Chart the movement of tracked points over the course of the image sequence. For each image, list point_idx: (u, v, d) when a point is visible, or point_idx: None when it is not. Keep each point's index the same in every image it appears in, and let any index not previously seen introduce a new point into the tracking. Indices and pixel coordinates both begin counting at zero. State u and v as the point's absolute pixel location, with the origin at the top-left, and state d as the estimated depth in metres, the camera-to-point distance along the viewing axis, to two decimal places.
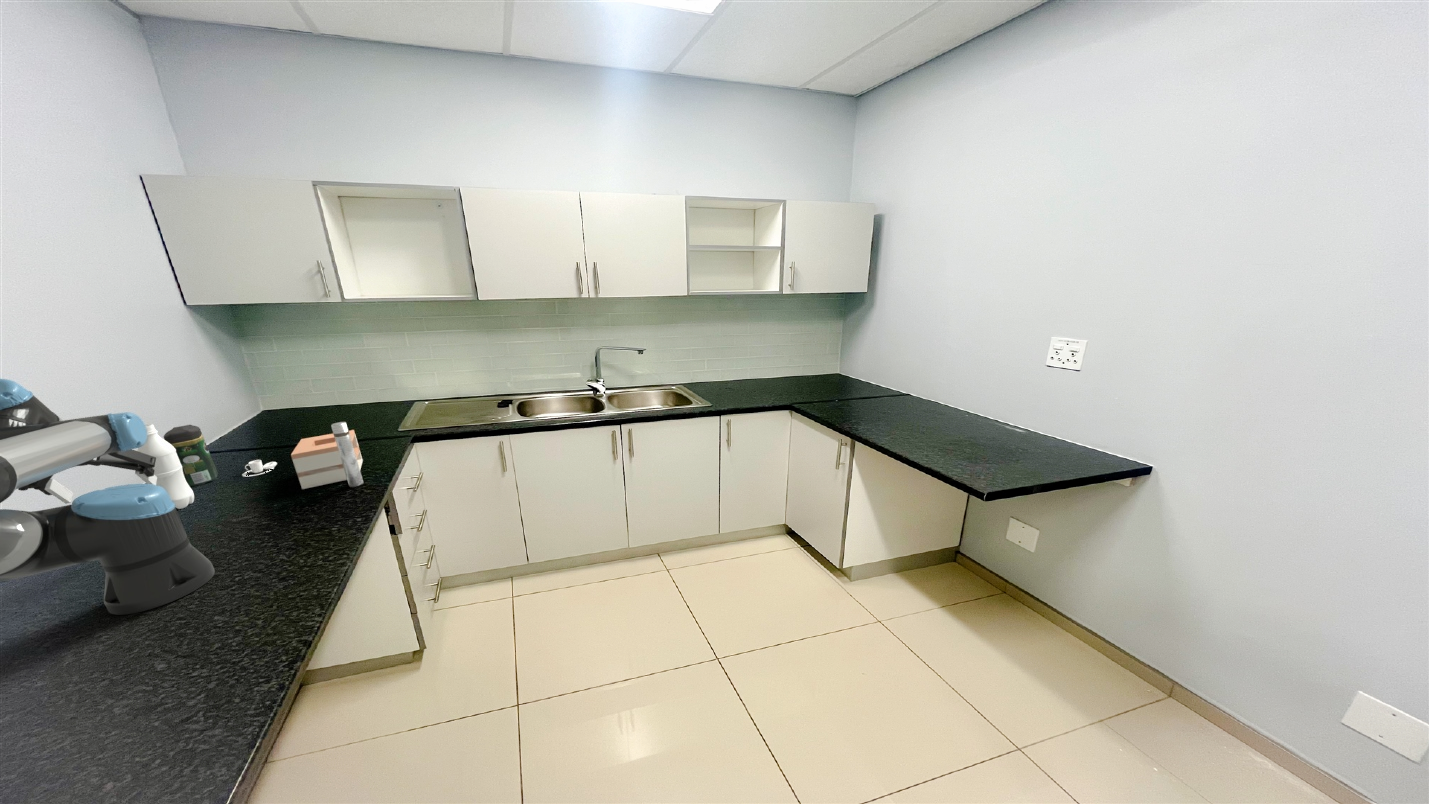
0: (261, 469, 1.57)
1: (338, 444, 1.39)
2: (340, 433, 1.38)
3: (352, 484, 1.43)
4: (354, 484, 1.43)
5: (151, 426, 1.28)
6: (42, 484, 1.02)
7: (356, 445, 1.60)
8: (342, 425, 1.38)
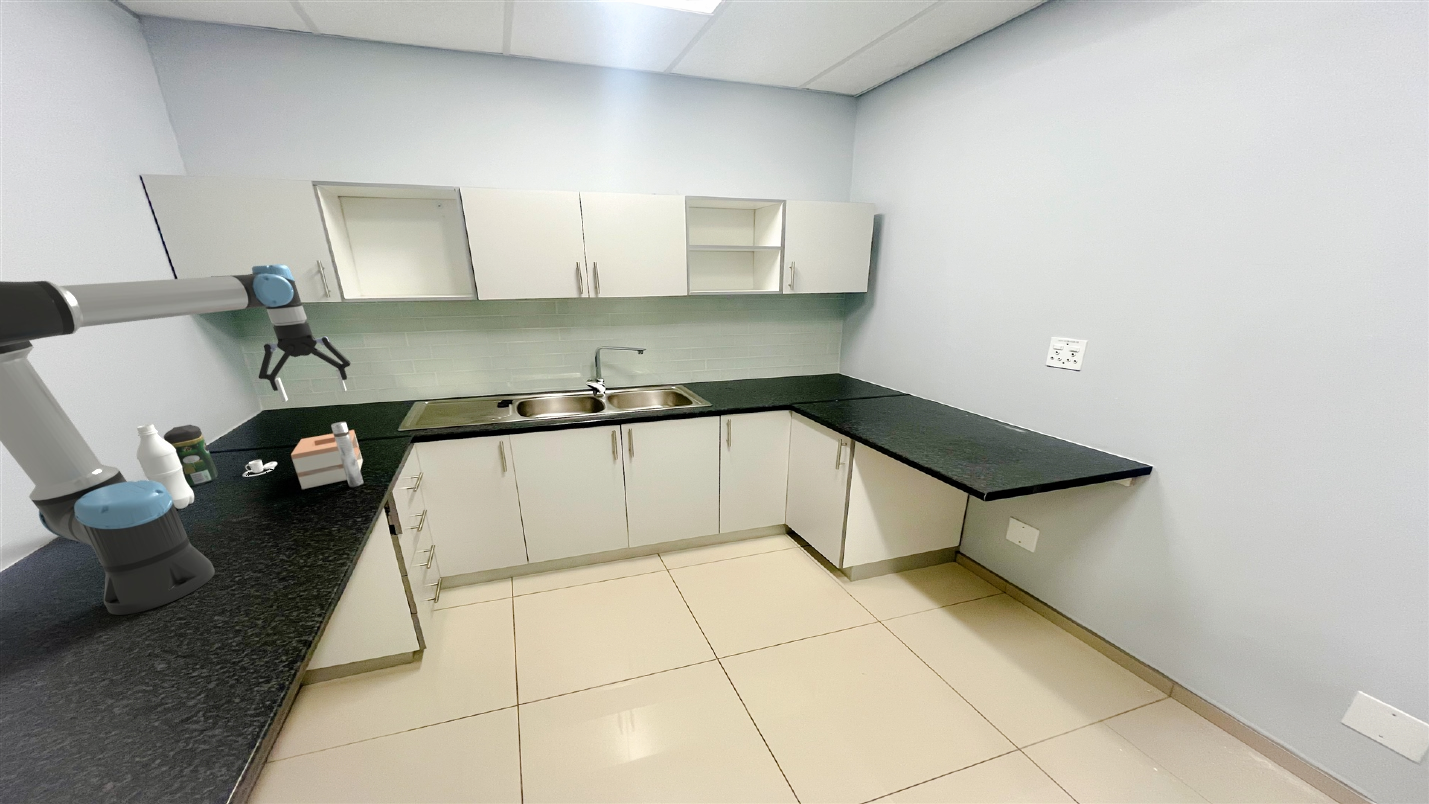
0: (261, 469, 1.57)
1: (338, 444, 1.39)
2: (340, 433, 1.38)
3: (352, 484, 1.43)
4: (354, 484, 1.43)
5: (151, 426, 1.28)
6: (274, 373, 1.28)
7: (356, 445, 1.60)
8: (342, 425, 1.38)
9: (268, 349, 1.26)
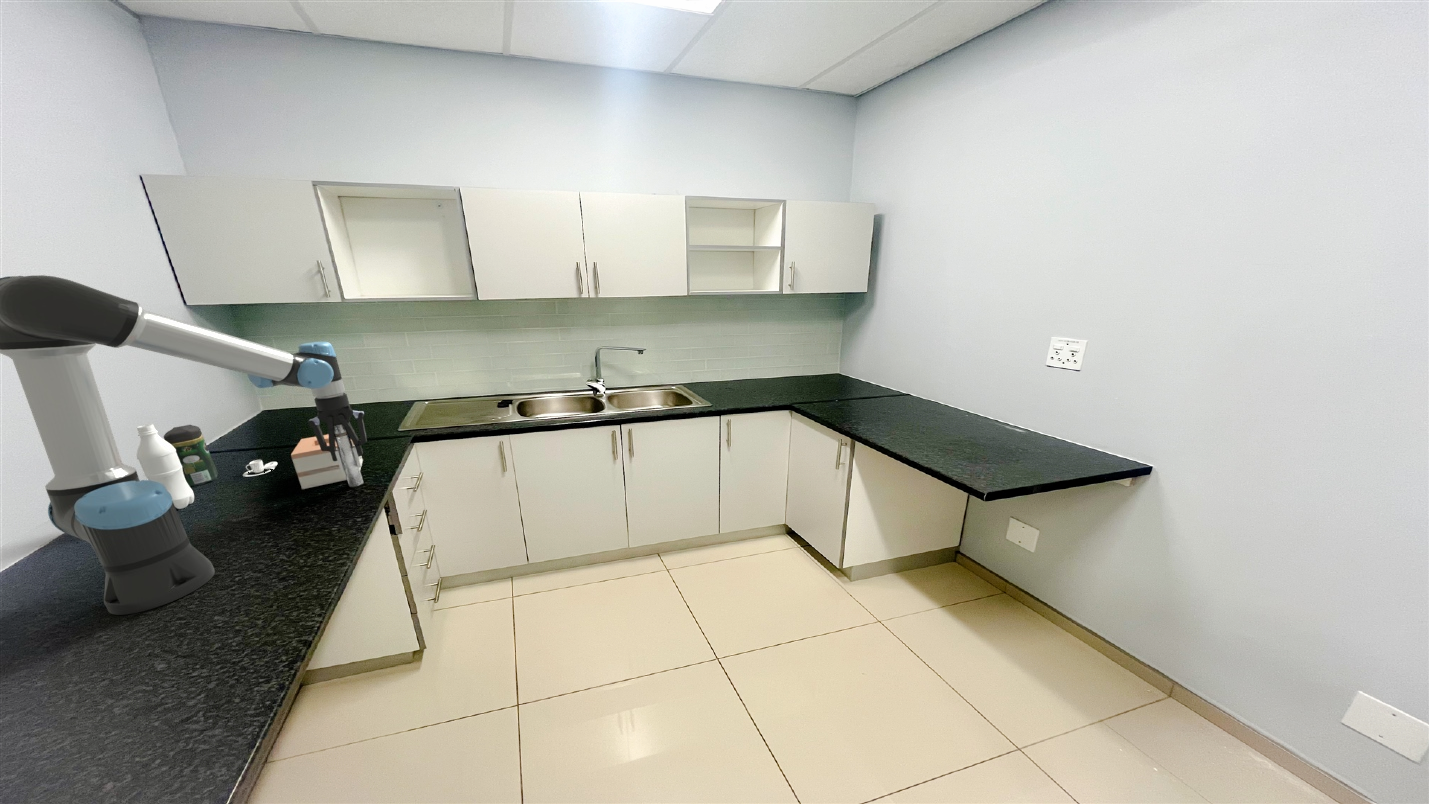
0: (262, 469, 1.57)
1: (338, 444, 1.39)
2: (340, 433, 1.38)
3: (352, 484, 1.43)
4: (354, 484, 1.43)
5: (151, 426, 1.28)
6: (332, 445, 1.38)
7: None
8: (342, 425, 1.38)
9: (313, 424, 1.35)
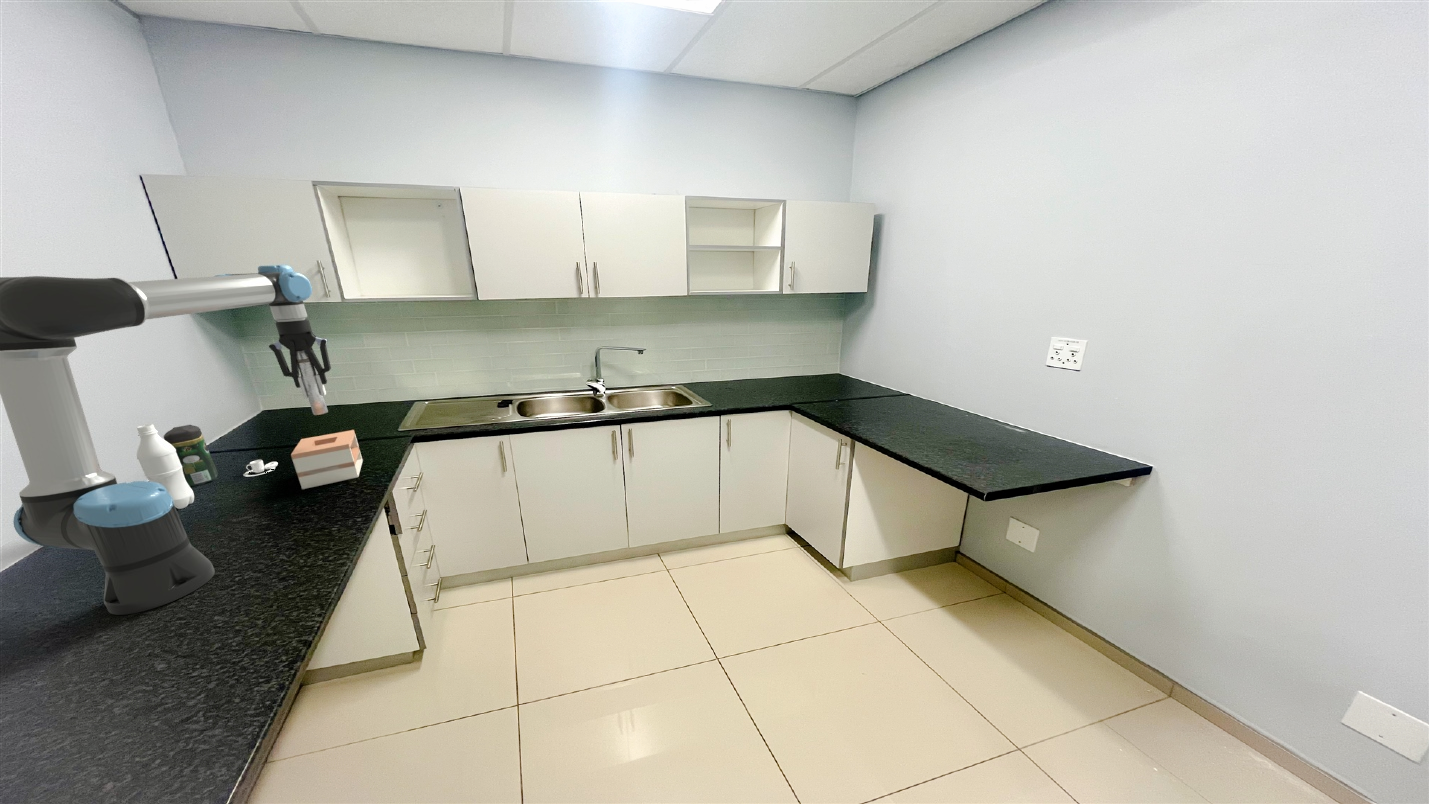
0: (262, 469, 1.57)
1: (301, 370, 1.39)
2: (302, 359, 1.39)
3: (316, 412, 1.43)
4: (318, 412, 1.44)
5: (151, 426, 1.28)
6: (294, 371, 1.39)
7: (356, 445, 1.60)
8: (304, 351, 1.39)
9: (274, 348, 1.35)
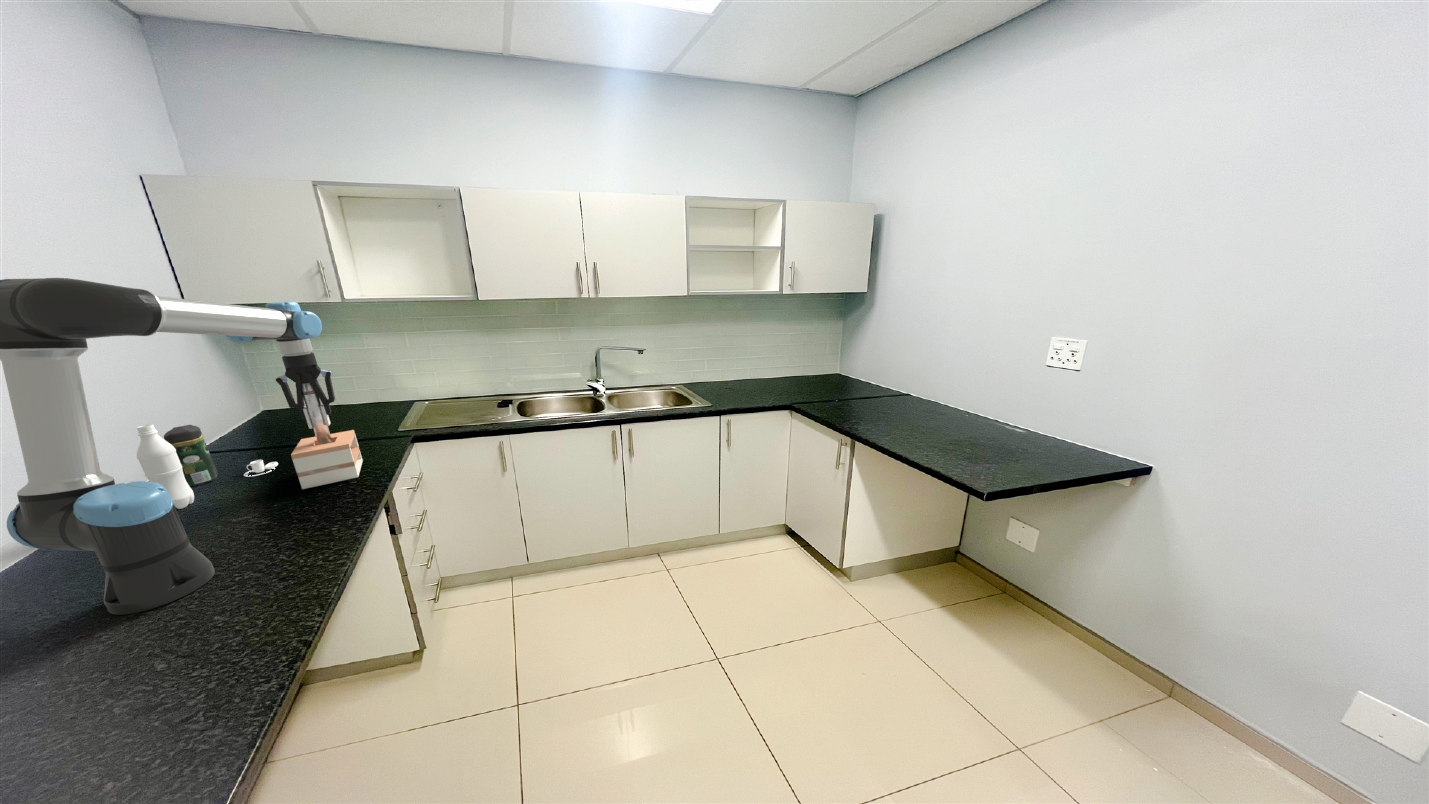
0: (263, 469, 1.57)
1: (306, 402, 1.44)
2: (307, 391, 1.43)
3: (321, 442, 1.48)
4: (323, 442, 1.48)
5: (151, 426, 1.28)
6: (300, 402, 1.43)
7: (356, 445, 1.60)
8: (310, 383, 1.43)
9: (281, 382, 1.40)
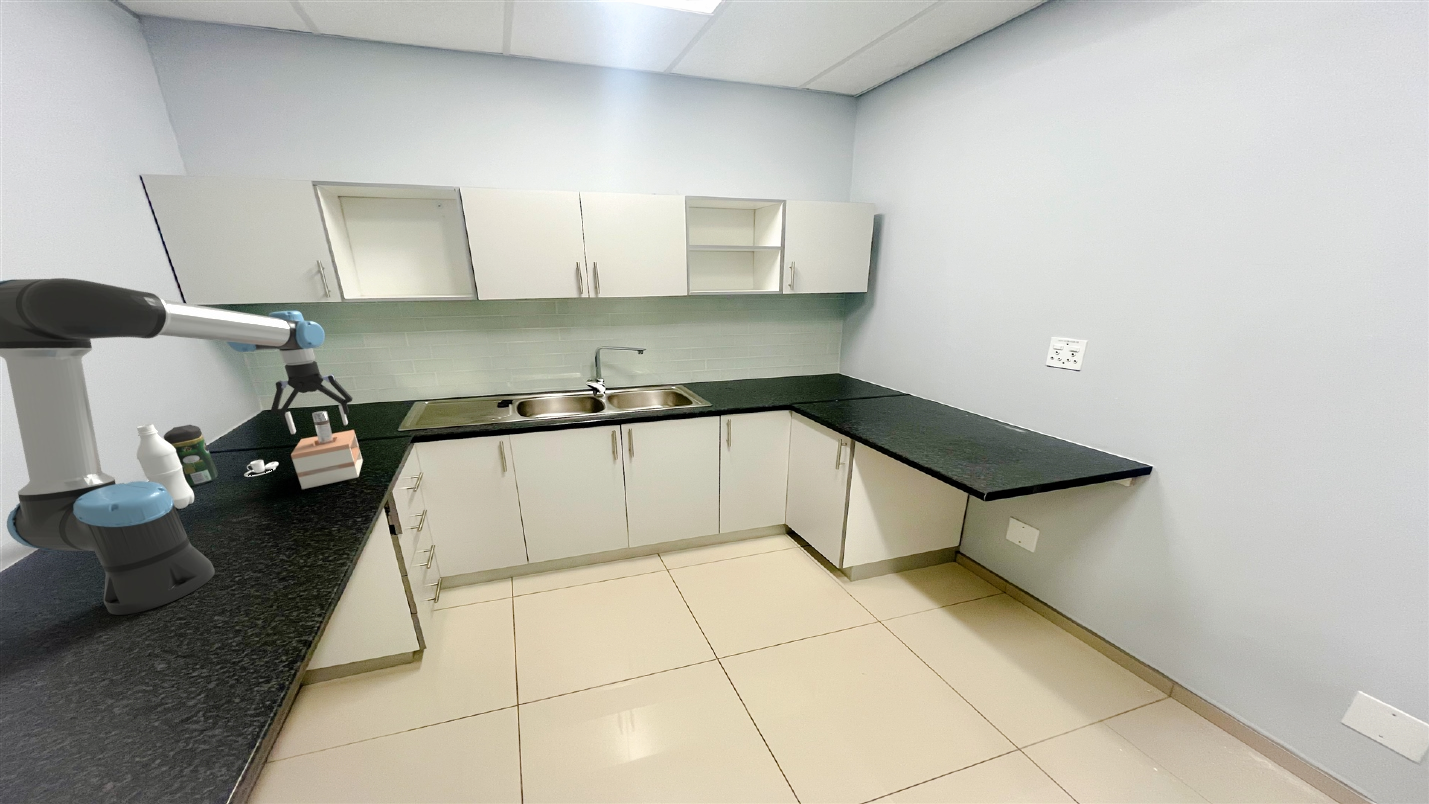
0: (263, 469, 1.57)
1: (318, 432, 1.47)
2: (320, 421, 1.46)
3: None
4: None
5: (151, 426, 1.28)
6: (285, 408, 1.41)
7: (356, 445, 1.60)
8: (323, 414, 1.46)
9: (279, 386, 1.40)
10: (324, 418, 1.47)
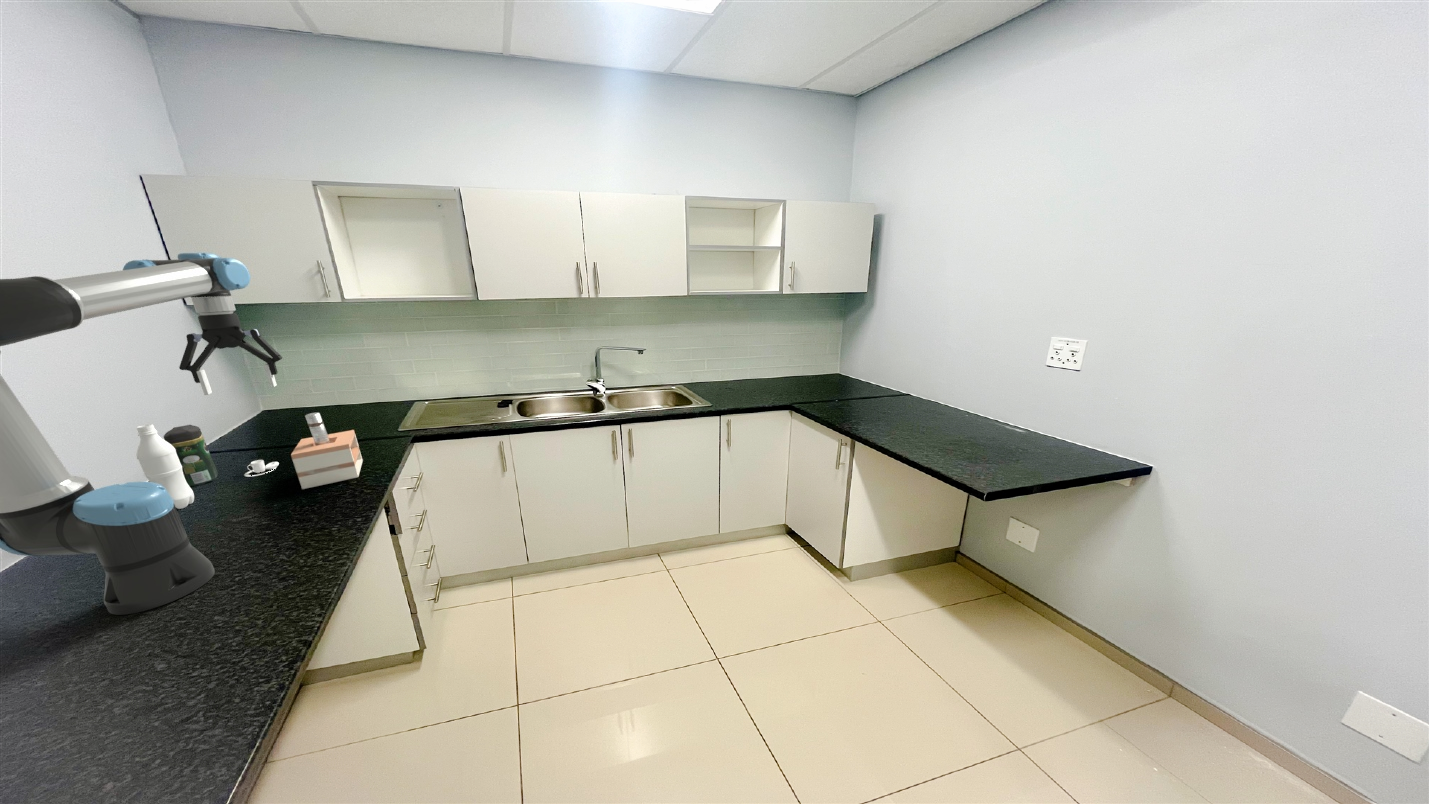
0: (263, 469, 1.57)
1: (313, 434, 1.46)
2: (314, 423, 1.45)
3: None
4: None
5: (151, 426, 1.28)
6: (197, 365, 1.24)
7: (356, 445, 1.60)
8: (316, 415, 1.45)
9: (191, 339, 1.22)
10: (317, 419, 1.46)
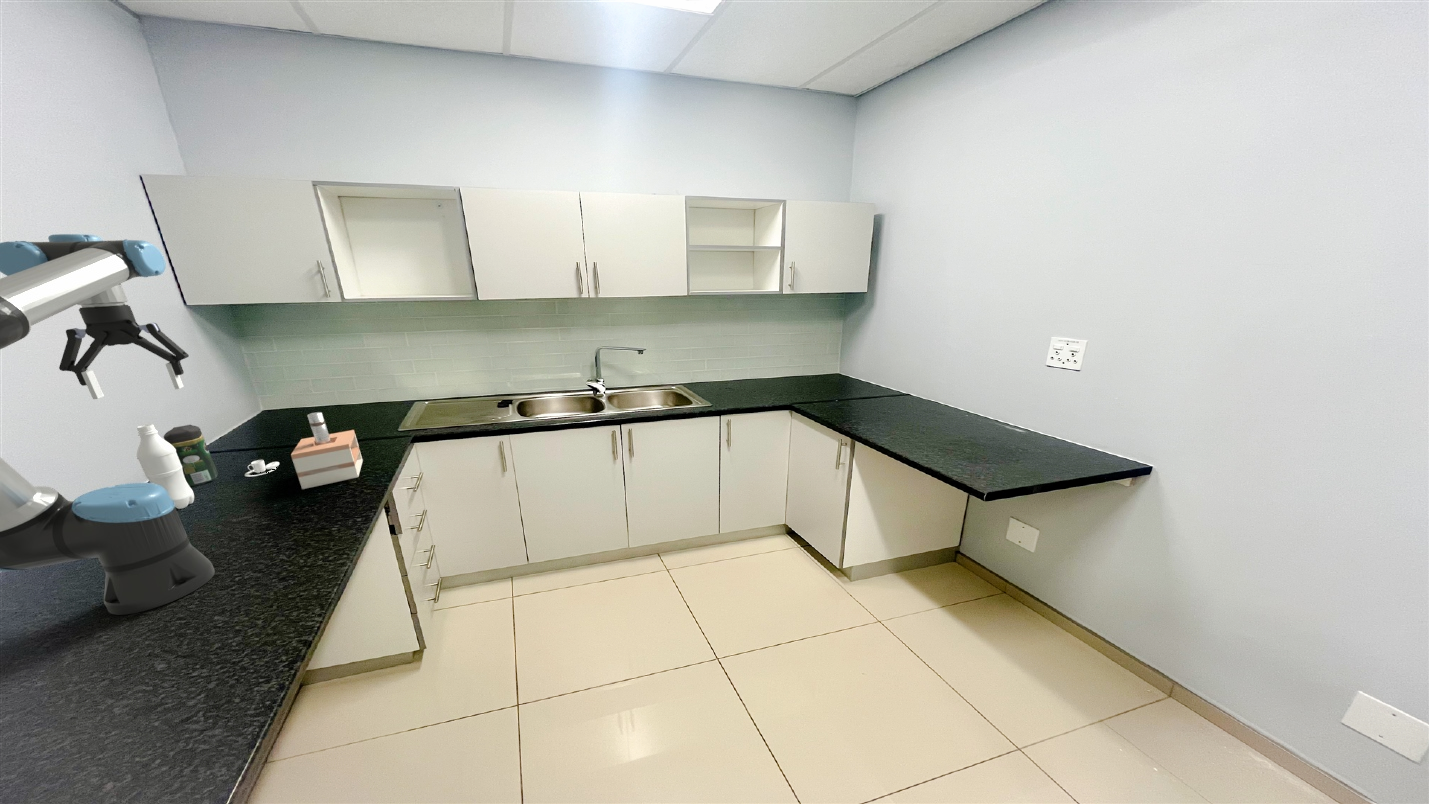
0: (263, 469, 1.57)
1: (314, 433, 1.46)
2: (316, 422, 1.46)
3: None
4: None
5: (151, 426, 1.28)
6: (81, 365, 1.07)
7: (356, 445, 1.60)
8: (318, 415, 1.46)
9: (72, 335, 1.06)
10: (320, 419, 1.46)
